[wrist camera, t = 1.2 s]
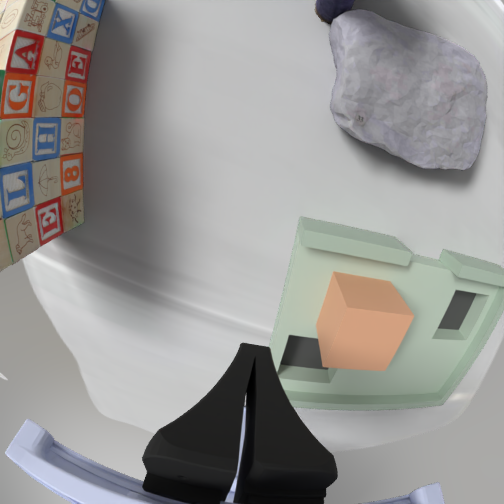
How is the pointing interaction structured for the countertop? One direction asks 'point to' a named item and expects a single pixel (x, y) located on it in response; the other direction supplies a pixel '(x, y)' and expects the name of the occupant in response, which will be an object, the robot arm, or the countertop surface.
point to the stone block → (407, 91)
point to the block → (361, 323)
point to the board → (416, 338)
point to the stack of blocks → (42, 119)
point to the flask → (332, 9)
